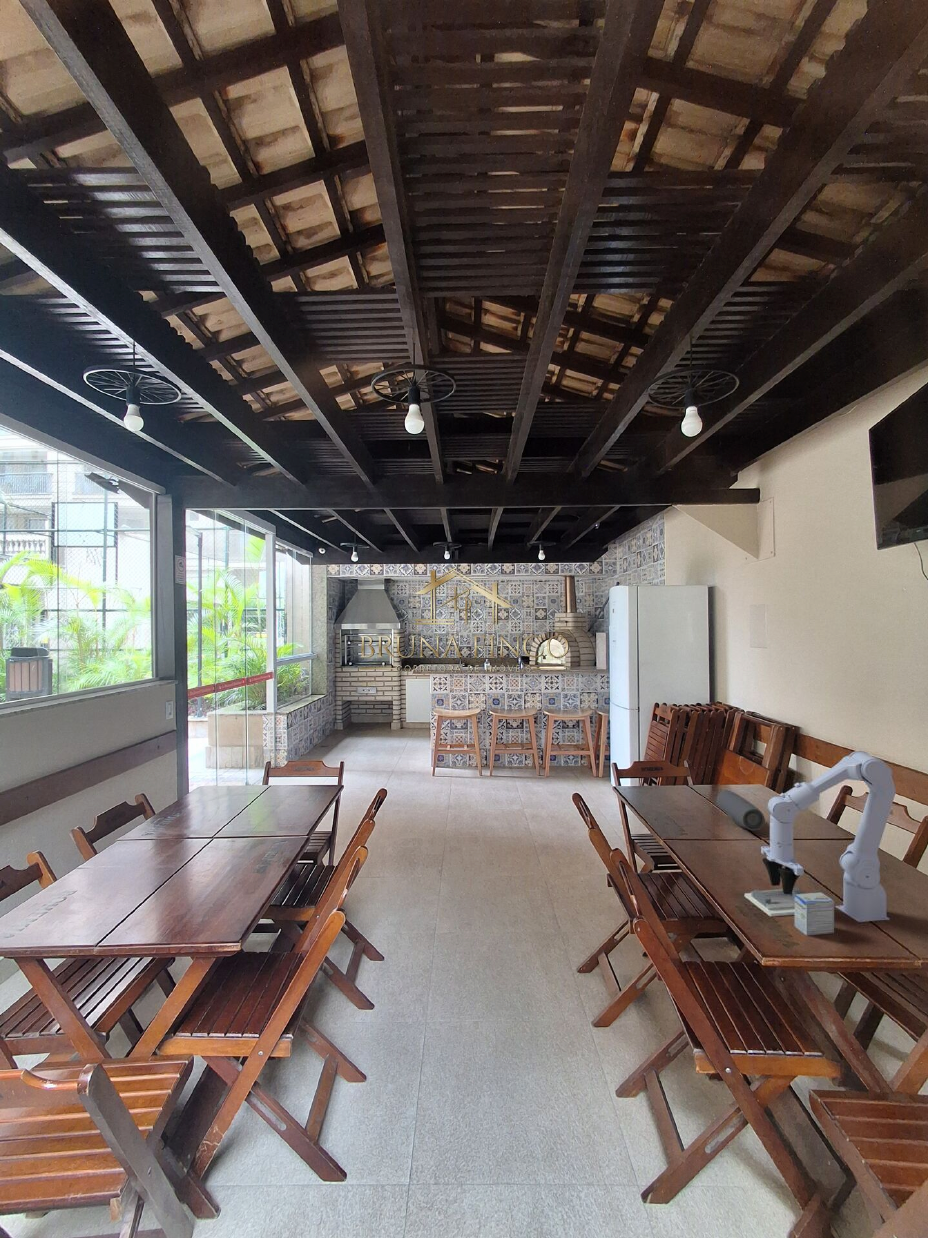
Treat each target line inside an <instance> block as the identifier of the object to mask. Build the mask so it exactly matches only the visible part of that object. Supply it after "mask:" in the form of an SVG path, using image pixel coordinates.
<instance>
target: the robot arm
mask: <svg viewBox="0 0 928 1238" xmlns="http://www.w3.org/2000/svg"><path fill="white" fill-rule="evenodd" d="M892 774H893V770H892V769H891V767H890V766H889V765H888V764H887V763H886V762H885V761H883V760H882V759H879V758H877V757H875V756H872V755H871V754H869V753H868V752H866V751H863V750H855V751H853V752H851V753H850V754H849V755H846V756H844V757H842V759H841V760H840V761H838V763H837V764H835V765H834V766H833V767H831V768H829V769H828V770H826V771H825V772H823V774H820V775H819V776H818V777H816V778H815V779H814V780H812V781H811V782H806V781H805V782H804V781H803V782H796V783H794V785H793V786H794V787H792V788H790V789H789V790H787V791H786V792H784V793H783V792H781V793H780V794H779V795H778V796H772V797H771V798H769V800H768V803H766V809H767V810H768V812H769V813H770V815H769V846H766V845H765V846H762V845H761V846H760V849H761V850H760V852H761V854H762V855H766V857H764V858H762V862H763V864H764V866H765V868H766V870H767V874H768V878H769V881H770V884H771V886H773V887H777V886H780V885H781V887H782V888H781V889H783V893H784V894H792V891H793V888H794V887H795V885H796V882H797V880H798V879H799V877H800V876H804V873H805V872H804V871H805V870H804V867H803V866H801V865H800V864H799V862H798V861H797V860H796V859H795V858H794V826H793V825H794V821H795V820H796V818H797V816H798V814H799V813H800V812H802V811H803V810H805V809H807V808H808V807H810V806H812V805H813V804H814V803H816V802H818V801H819V800H820V799H819V798H820V795H821V793H823V792H825V791H827V790H829V789H831V788H833V787H835V786H837V785H838V784H841V783H842V782H844V781H846V780H851V781H863V782H864V783H865V785H867V787H868V789H869V791H868V795H867V798H866V801H865V805H864V808H863V812H862V815H861V818H860V821H859V825H858V827H857V830H856V834H855V837H854V840H853V842H852V843H850V844H849V845H847V848H846V850H845V852H844V853H842V854H841V856H840V857H839V865H840V867H841V869H842V870H843V871H844V873H843V880H842V881H843V882H842V883H843V891H842V893H843V897H842V898H843V901H842V904H843V905H836V906H835V905H834V908H836V909H838V910H840V911H841V912H843V913H844V914H846V915H847V916H849V917H850V918H852V919H854V920H855V921H857V922H859V923H861V922H870V921H871V922H872V921H873V922H874V921H884V920H885V921H886V920H887V921H890V918H889V917H888V916H887V893H886V891H885V888H884V887H883V886H882V884H881V883H880V881H881V875H880V874H881V873H880V867H881V862H880V859H879V855H878V851H879V847H880V845H881V842H882V837H883V835H884V833H885V828H886V825H887V822H888V820H889V816H890V812H891V809H892V806H893V802H894V799H895V796H896V785H895V783H894V779H893V776H892Z"/></svg>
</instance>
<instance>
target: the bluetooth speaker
mask: <svg viewBox="0 0 928 1238" xmlns="http://www.w3.org/2000/svg"><path fill="white" fill-rule="evenodd" d="M717 794H718V795H717V797H716V801H715V802H716V804H717V806H718V807H719V808H720V809H721V811H723V813H725V814H726V815H727V816H728V817H729V818H730V820H731V821H732V822H733V823H734V824H736V825H737V826H738V827H740V828H745V829H747V830H748V831H749V830H750V831H759V830H760V829H762V828H763V827H764V825H765V821H766V819H765V816H764V813H763V812H762V811H761V810H760V809H759V808H758V807H756V806H755V804H752V803H751V802H750V801H749V800H747V799H746V798H744V797H742V796H741V795H740V794H737V793H736V792H734V791H731V790H728V789H726V790H722V791H720V792H719V793H717Z"/></svg>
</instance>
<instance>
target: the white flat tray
mask: <svg viewBox="0 0 928 1238" xmlns="http://www.w3.org/2000/svg"><path fill="white" fill-rule="evenodd" d="M796 894H807V893H806V892H804V891H803V890H801V889H800V888H798V887H796V886H794V888H793V891H792V894H784V893H783V888H780V889H765V890H759V889H754V890H753V891H752V890H751V891H750V892H748V893H746V892H745V893H744V898H746V899H747V900H749V901H750V902H751V903H752V904H754V905H755V906H756V907H757V908H759V909H760V910H761V911H763V912H764V913H765V914H767V915H768V916H769V917H781V916H782V917H783V916H795V895H796Z"/></svg>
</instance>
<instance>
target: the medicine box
mask: <svg viewBox="0 0 928 1238" xmlns="http://www.w3.org/2000/svg"><path fill="white" fill-rule="evenodd" d="M794 927H795V929H797V930H798V931H800V932H801V933H802V934H803V935H805V936H815V935H825V934H834V932H835V901H834V900H833V899H832V898H830V897H829V896H828V895H826V894H824V893H823V892H809V893H808V892H807V893H806V894H796V895H795V915H794Z"/></svg>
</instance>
